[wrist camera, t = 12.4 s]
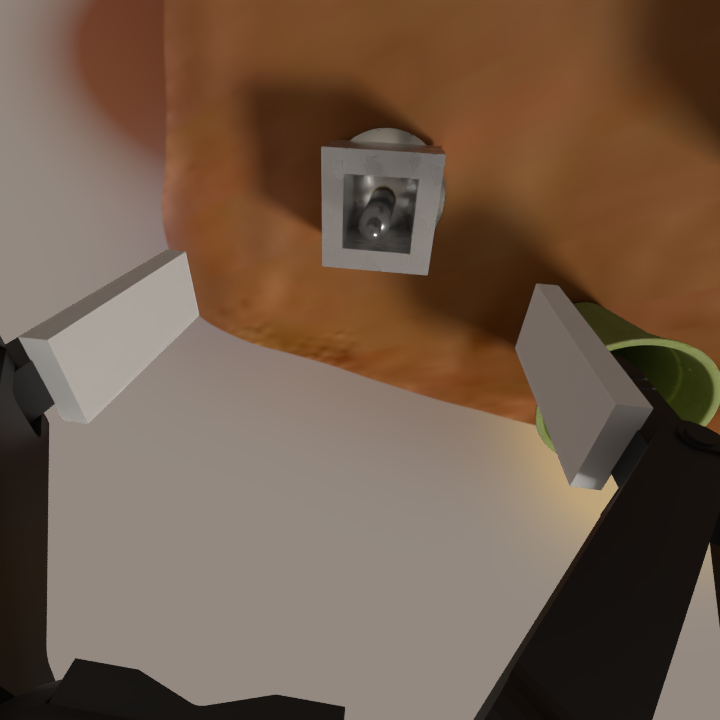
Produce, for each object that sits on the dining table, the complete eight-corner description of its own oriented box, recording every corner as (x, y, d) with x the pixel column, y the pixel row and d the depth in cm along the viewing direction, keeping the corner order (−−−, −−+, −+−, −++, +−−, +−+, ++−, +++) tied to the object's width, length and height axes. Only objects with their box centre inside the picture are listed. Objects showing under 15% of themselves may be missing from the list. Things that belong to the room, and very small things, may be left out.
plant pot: (668, 286, 33) (767, 357, 24) (603, 391, 40) (660, 478, 30) (532, 264, 33) (577, 326, 24) (490, 372, 40) (513, 452, 31)
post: (324, 123, 29) (284, 132, 20) (455, 131, 29) (473, 143, 20) (325, 251, 35) (294, 302, 26) (434, 260, 34) (441, 316, 25)
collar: (337, 139, 29) (321, 146, 25) (440, 146, 29) (446, 154, 24) (336, 242, 34) (322, 266, 29) (425, 250, 33) (427, 275, 28)
